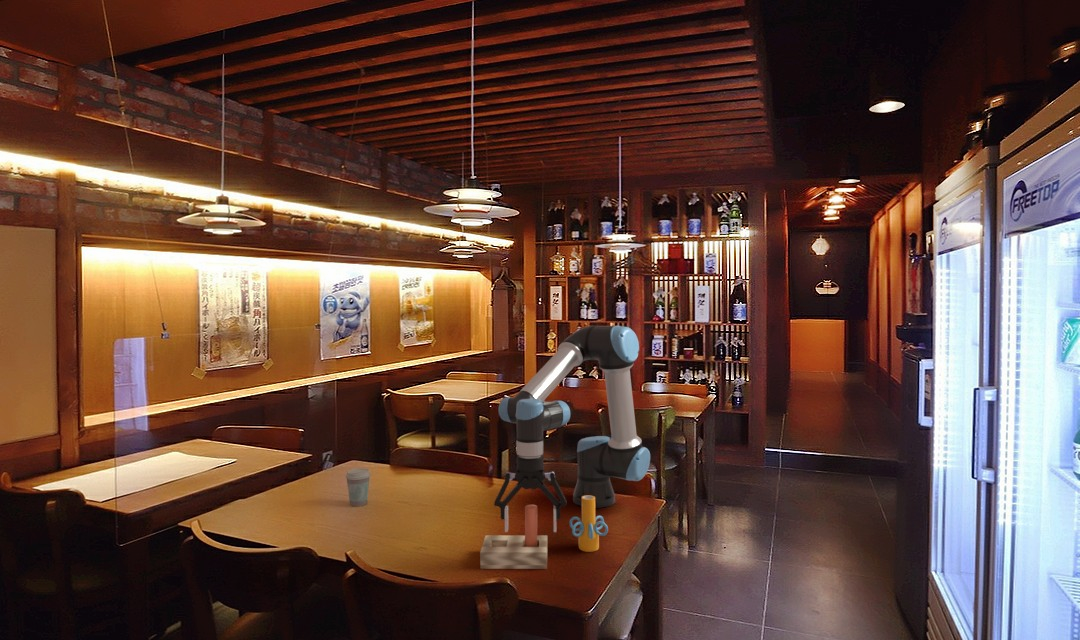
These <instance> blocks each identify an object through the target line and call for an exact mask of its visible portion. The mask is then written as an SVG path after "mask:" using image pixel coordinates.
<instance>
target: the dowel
mask: <svg viewBox="0 0 1080 640" xmlns="http://www.w3.org/2000/svg"><path fill="white" fill-rule="evenodd" d="M538 516H539V515H538V505H536V504H526V505H525V507H524V535H525V547H537V535H538Z"/></svg>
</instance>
